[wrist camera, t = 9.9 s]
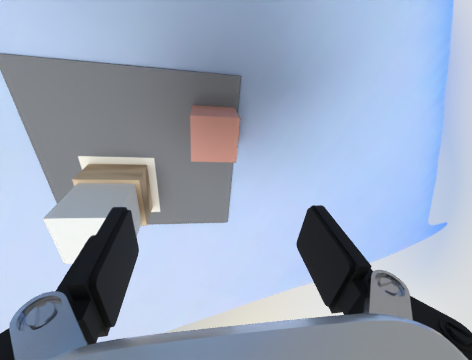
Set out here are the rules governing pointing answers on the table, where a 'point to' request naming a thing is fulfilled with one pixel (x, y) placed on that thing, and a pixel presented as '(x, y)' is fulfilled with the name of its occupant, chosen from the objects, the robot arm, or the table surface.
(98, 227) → the grey cube
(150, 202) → the oak base
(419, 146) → the table surface
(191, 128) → the red cube
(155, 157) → the grey mat
